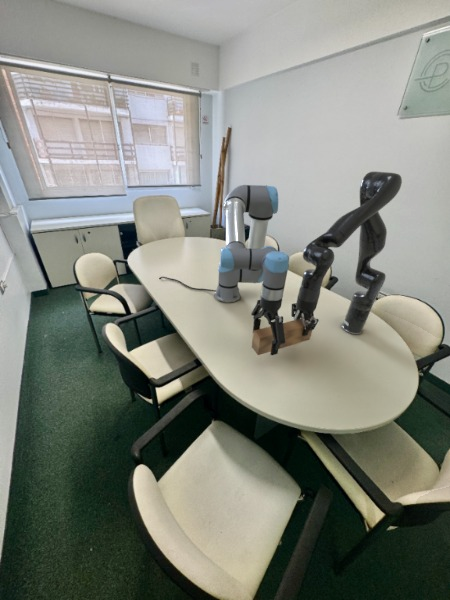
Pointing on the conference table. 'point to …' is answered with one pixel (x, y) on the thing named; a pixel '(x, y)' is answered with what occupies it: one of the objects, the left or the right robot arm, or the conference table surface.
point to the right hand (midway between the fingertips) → (299, 331)
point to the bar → (291, 332)
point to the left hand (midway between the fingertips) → (264, 342)
